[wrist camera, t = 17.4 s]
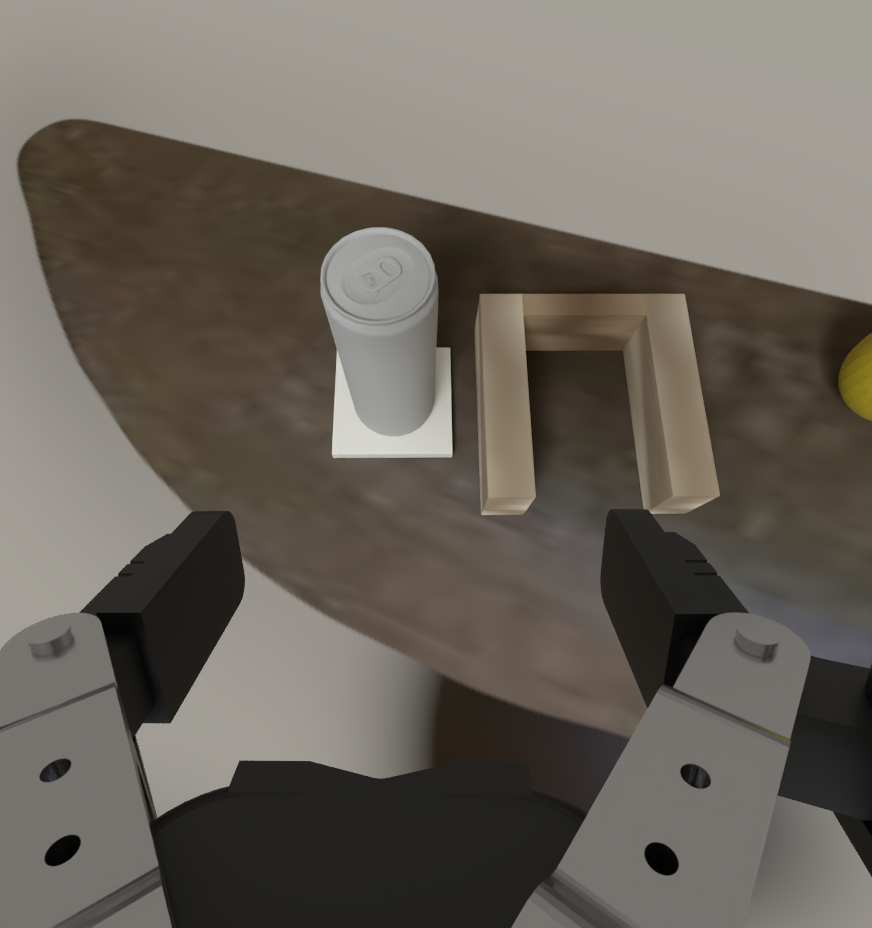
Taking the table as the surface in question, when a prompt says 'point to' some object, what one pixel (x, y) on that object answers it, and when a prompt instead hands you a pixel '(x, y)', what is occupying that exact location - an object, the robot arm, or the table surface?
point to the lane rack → (648, 380)
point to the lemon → (858, 379)
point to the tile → (366, 443)
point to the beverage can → (384, 325)
